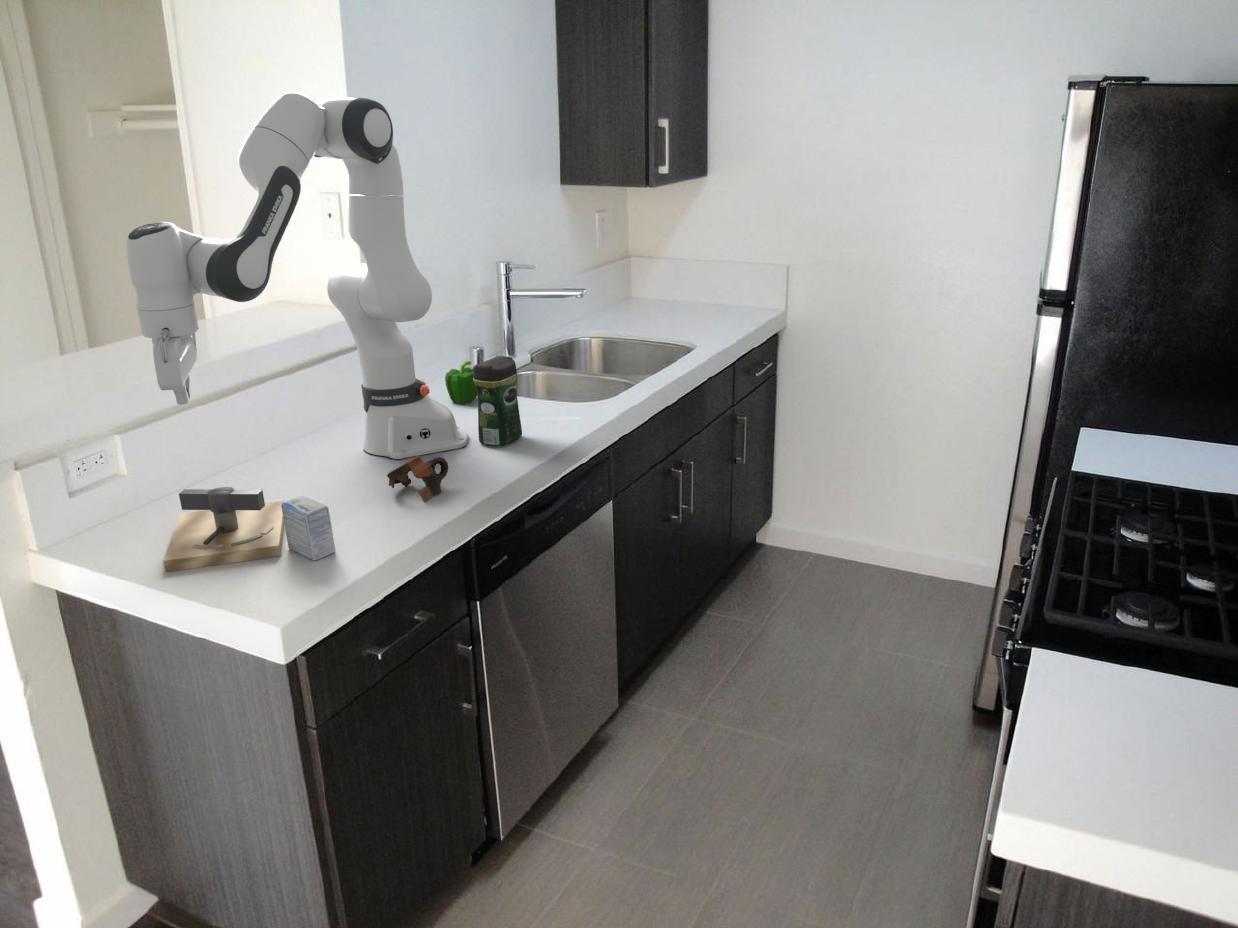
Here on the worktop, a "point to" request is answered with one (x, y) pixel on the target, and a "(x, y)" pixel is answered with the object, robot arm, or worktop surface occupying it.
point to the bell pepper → (461, 384)
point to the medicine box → (308, 527)
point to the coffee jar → (497, 401)
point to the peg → (222, 505)
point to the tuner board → (225, 538)
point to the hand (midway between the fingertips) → (184, 401)
